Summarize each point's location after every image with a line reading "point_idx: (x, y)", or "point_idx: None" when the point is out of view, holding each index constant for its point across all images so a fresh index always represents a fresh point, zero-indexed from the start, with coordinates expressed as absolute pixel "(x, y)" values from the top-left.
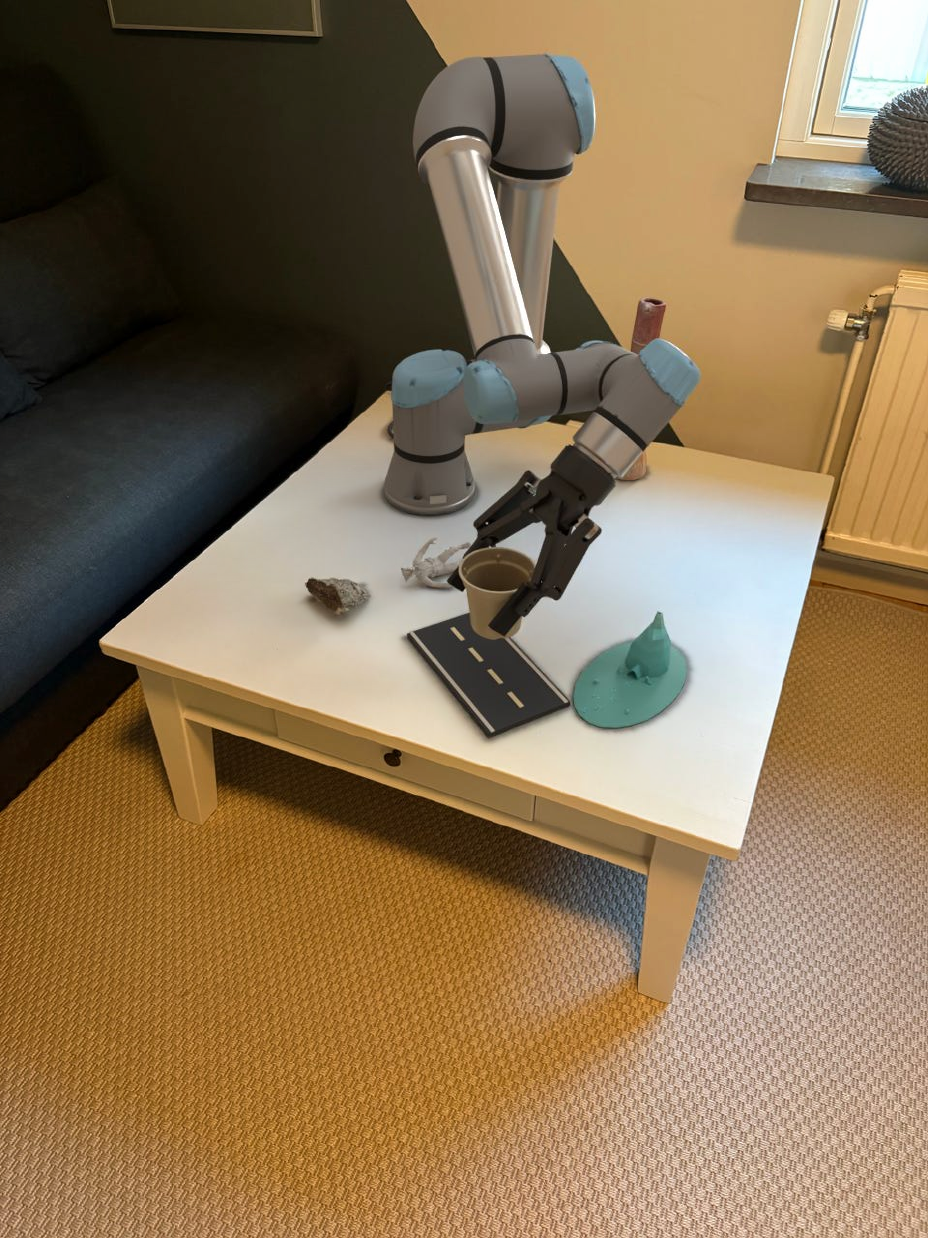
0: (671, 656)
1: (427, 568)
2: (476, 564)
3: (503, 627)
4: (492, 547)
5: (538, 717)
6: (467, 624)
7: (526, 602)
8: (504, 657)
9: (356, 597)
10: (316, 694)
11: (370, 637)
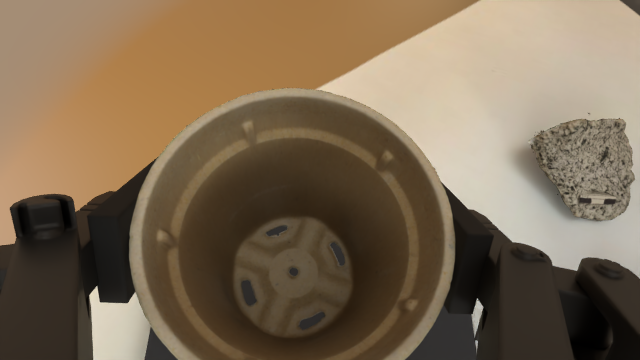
0: None
1: None
2: (414, 222)
3: None
4: (446, 283)
5: None
6: (442, 333)
7: (81, 212)
8: None
9: (562, 173)
10: (387, 71)
11: (475, 177)
